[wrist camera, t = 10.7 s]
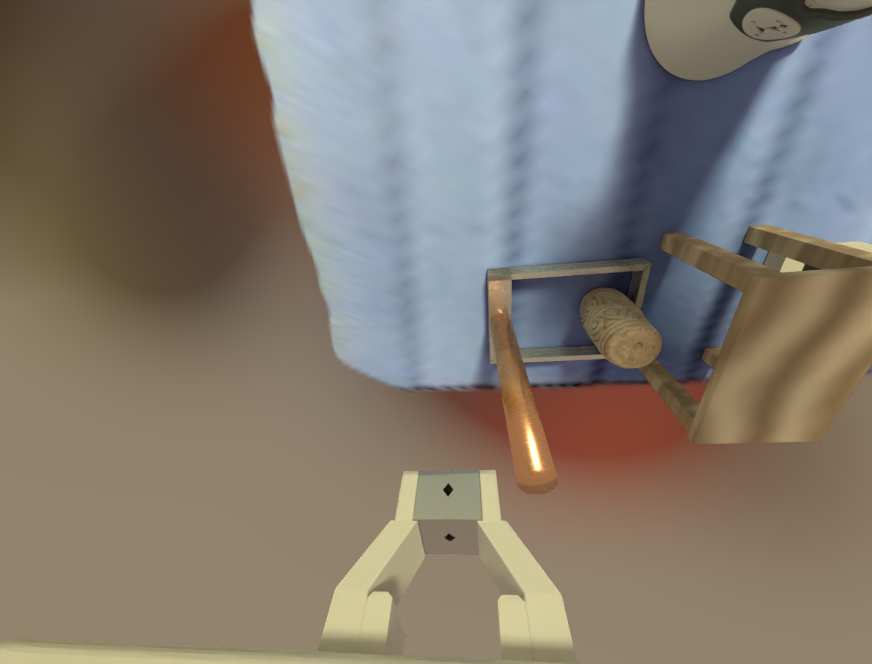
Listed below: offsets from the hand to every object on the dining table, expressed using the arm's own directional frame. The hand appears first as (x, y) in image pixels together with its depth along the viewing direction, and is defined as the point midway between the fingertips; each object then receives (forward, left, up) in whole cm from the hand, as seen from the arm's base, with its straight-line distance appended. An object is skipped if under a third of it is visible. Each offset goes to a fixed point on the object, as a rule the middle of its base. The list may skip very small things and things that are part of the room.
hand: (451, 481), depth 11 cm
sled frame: (+5, +18, -37) cm, 41 cm away
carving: (+2, +23, -37) cm, 44 cm away
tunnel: (-4, +34, -37) cm, 51 cm away
